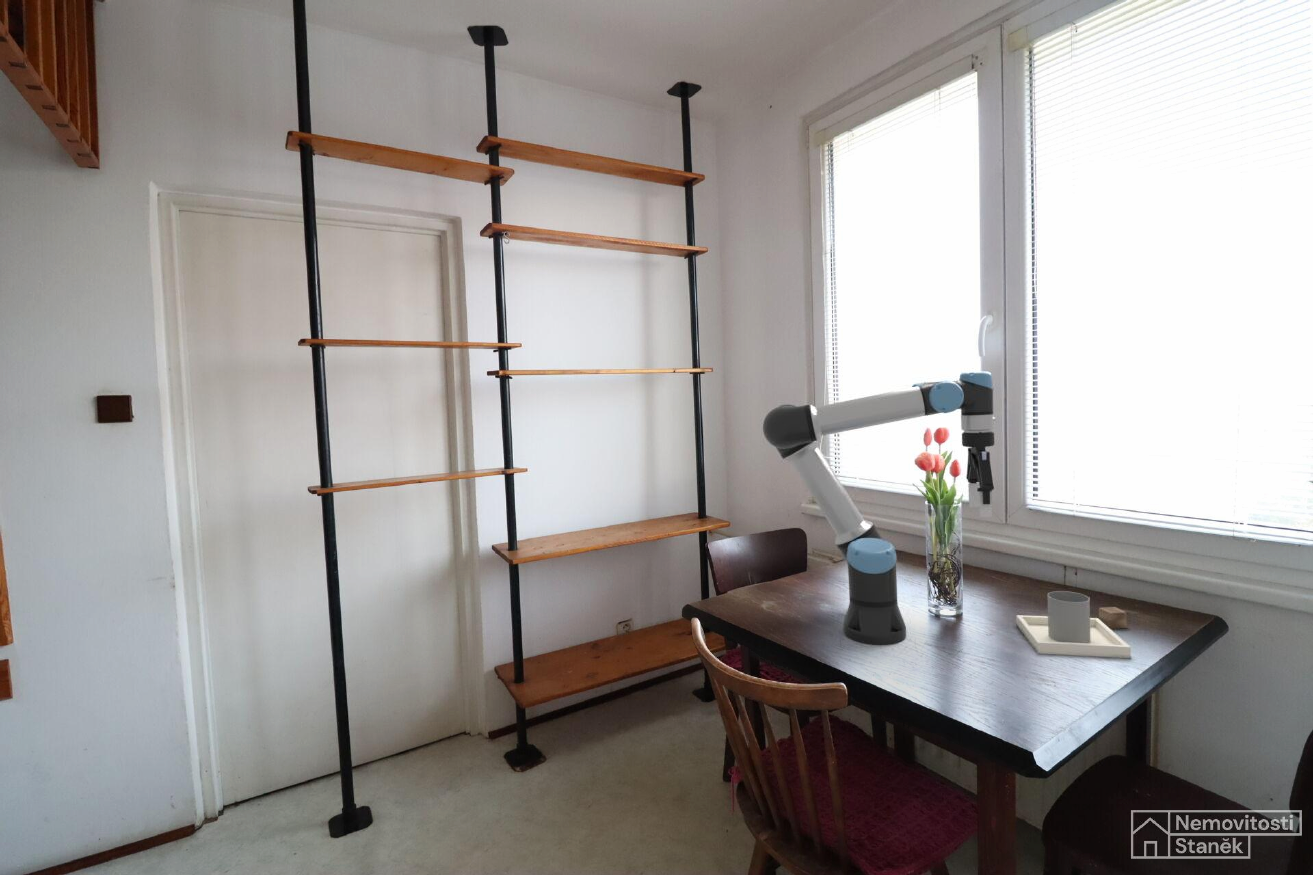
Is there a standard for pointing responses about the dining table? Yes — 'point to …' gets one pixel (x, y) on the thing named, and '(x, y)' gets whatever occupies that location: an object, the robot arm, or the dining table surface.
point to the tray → (1100, 643)
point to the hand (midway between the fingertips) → (980, 511)
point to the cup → (1068, 617)
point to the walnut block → (1113, 617)
